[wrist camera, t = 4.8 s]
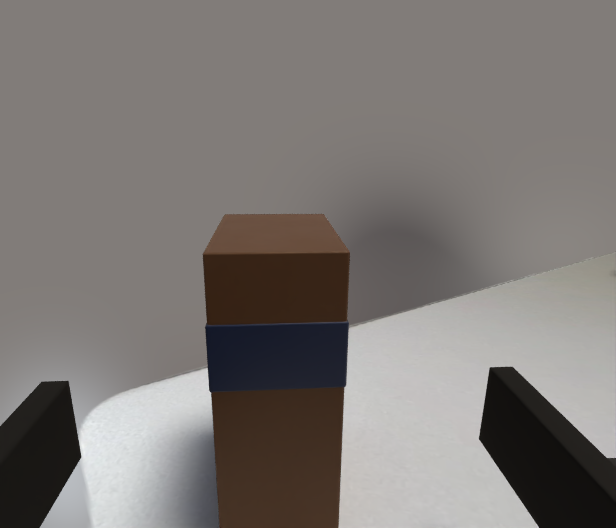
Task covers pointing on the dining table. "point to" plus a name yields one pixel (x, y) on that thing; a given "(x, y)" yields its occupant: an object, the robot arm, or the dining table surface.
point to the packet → (277, 368)
